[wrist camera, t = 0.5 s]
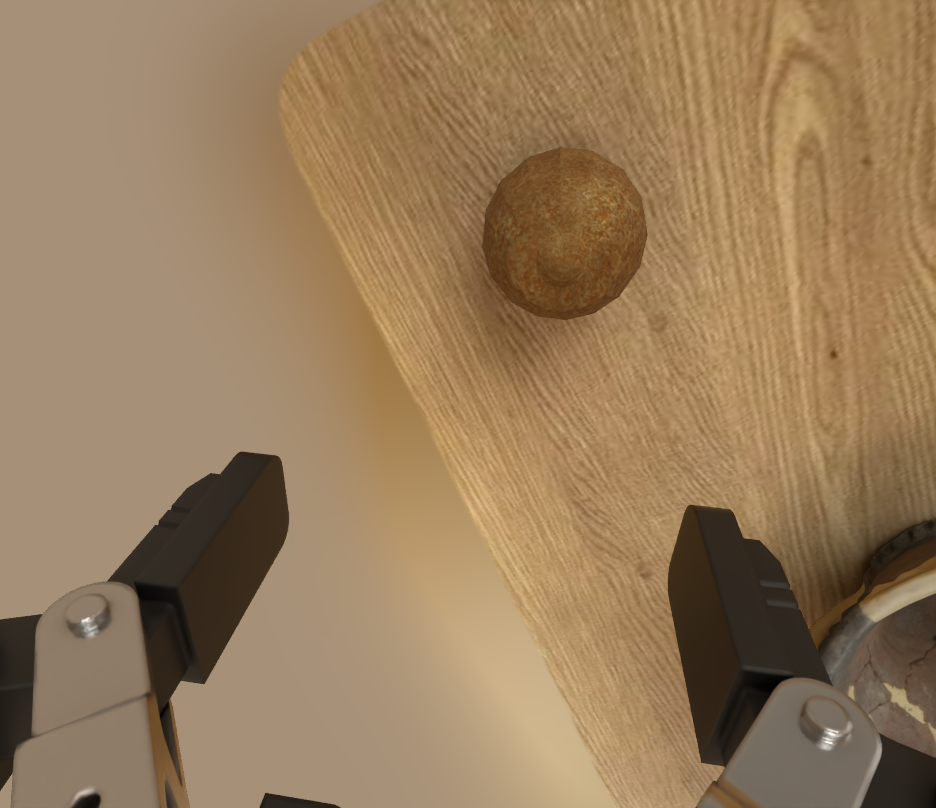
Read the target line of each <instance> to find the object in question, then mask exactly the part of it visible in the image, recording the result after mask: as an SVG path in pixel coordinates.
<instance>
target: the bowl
mask: <svg viewBox="0 0 936 808" xmlns="http://www.w3.org/2000/svg"><path fill="white" fill-rule="evenodd" d="M870 565H871V567H870V568H869V569H868V570H867V571H866V573H865V574H864V576H863V585H862V587H861V588H860V589H859V590H858V591H857V592H856V593H855V594H853V595H852V596H850V597H848V598H847V599H845V600H844V601H842V602H840V603H839V604H838V605H837V606H835V607H834V608H833V609H832V610H830V611H829V612H828V613H827V614H825V615H824V616H823V617H822V618H820V619H819V620H818V621H817V622H815V623H814V624H813V626H812V627H811V628H810V630H809V631H810V634H811V636H812V638H813V641H814V643H815V645H816V648H817V650H818V652H819V655H820V657H821V659H822V662H823V664H824V666H825V669H826V671H827V673H828V676H829V678H830V680H831V683H832V685H833V687H835V688H837V689H839V690H840V691H842V692H843V693H845V694H846V695H848V696H849V697H851V698H852V699H853V700H854V701H855V702H856V703H858V704H859V705H860V706H861V707H862V708H863V709H864V711H865V712H866V713H867V714H868V715H869V717H870V718H871V719H872V721H873V723H874V724H875V726H876V728H877V730H878V732H879V733H881V734H882V735H884V736H886V737H888V738H890V739H892V740H894V741H896V742H898V743H901V744H903V745H906V746H908V747H911V748H913V749H915V750H918V751H920V752H923V753H925V754H927V755H930V756H932V757H935V758H936V519H932V520H929V521H927V522H924V523H921V524H918V525H915V526H913V527H911V528H909V529H907V530H906V531H905V532H903V533H902V534H900V535H899V536H898V537H896V538H895V539H893V540H892V541H891V542H889V543H888V544H886V545H885V546H884V547H882V548H881V550H880V551H879V552H878V554H877V555H876V556H875V557H874V558H873V559H872V561H871V563H870Z"/></svg>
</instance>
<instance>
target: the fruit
mask: <svg viewBox="0 0 936 808" xmlns="http://www.w3.org/2000/svg"><path fill="white" fill-rule="evenodd" d="M646 239H647V227H646V222H645V216H644V210H643V205H642V199H641V196H640V194H639V193H638V191H637V190H636V188H635V187H634V185H633V184H632V182H631V181H630V179H629V178H628V177H627V175H626V174H625V172H624V171H623V169H621V168H620V167H618V166H616V165H615V164H613V163H611V162H610V161H608V160H606V159H605V158H603V157H601V156H600V155H598V154H596V153H595V152H593V151H587V150H578V149H569V148H557V149H554V150H551V151H547V152H544V153H541V154H538V155H535V156H531V157H529V158H527V159H526V160H525V161H524V162H523V163H521V164H520V165H519V166H518V167H517V168H516V169H514V170H513V171H512V172H511V173H510V174H508V175H507V176H506V177H505V178H504V179H502V180H501V182H500V184H499V186H498V188H497V190H496V192H495V193H494V195H493V197H492V199H491V201H490V203H489V205H488V207H487V209H486V215H485V225H484V235H483V246H482V247H483V251H484V254H485V257H486V261H487V264H488V267H489V271H490V274H491V277H492V278H493V279H494V281H495V282H496V283H497V284H498V286H499V287H500V288H501V289H502V291H503V292H504V293H505V294H506V295H507V297H508V298H509V299H510V300H511V302H512V303H514V304H516V305H518V306H519V307H521V308H523V309H525V310H527V311H528V312H530V313H532V314H534V315H536V316H539V317H547V318H554V319H562V320H568V319H572V318H576V317H580V316H584V315H589V314H593V313H595V312H597V311H598V310H600V309H601V308H603V307H604V306H606V305H607V304H609V303H610V302H611V301H613V300H614V299H616V298H617V297H619V296H620V294H621V293H622V291H623V290H624V289H625V287H626V286H627V284H628V283H629V281H630V280H631V279H632V277H633V276H634V274H635V273H636V271H637V270H638V269H639V267H640V264H641V260H642V256H643V252H644V247H645V243H646Z"/></svg>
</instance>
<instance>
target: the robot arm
mask: <svg viewBox="0 0 936 808" xmlns="http://www.w3.org/2000/svg"><path fill="white" fill-rule="evenodd" d="M288 525H289V511H288V504H287V497H286V489H285V481H284V474H283V467H282V462H281V459H280V458H279V457H278V456H275V455H267V454H258V453H249V452H239V453H238V454H236V456H235V457H234V458H233V459H232V460H231V462H230V463H229V464H228V465H227V467H226V468H225V469H224V470H223V471H222V473H221V474H212V473H210V474H209V475H207V476H206V477H204V478H202V479H201V480H199V481H198V482H196V483H194V484H193V485H191V486H190V487H188V488H187V489H186V490H185V491H184V492H183V494H182V495H181V496H180V497H179V498H178V499H177V500H176V502H175V503H174V504H173V505H172V508H171V510H168V511H167V512H166V513H165V514H164V516H163V517H162V518H161V519H160V520H159V524H158V525H155V526H154V527H153V528H152V530H151V531H150V532H149V533H148V534H147V535H146V537H145V538H144V539H143V540H142V541H141V542H140V544H139V545H138V546H137V547H136V548H135V549H134V550H133V552H132V553H131V554H130V555H129V556H128V557H127V559H126V560H125V561H124V562H123V563H122V564H121V566H120V567H119V568H118V569H117V570H116V571H115V573H114V574H113V575H112V576H111V577H110V579H109V580H108V581H107V582H98V583H93V584H89V585H86V586H83V587H80V588H78V589H75V590H73V591H71V592H69V593H68V594H66V595H64V596H63V597H61V598H60V599H58V600H57V601H55V602H54V603H53V604H52V605H51V606H50V607H49V608H48V609H47V610H46V611H45V612H44V613H43V614H40V615H32V616H25V617H16V618H9V619H2V620H0V790H1V789H2V788H3V786H4V785H5V783H6V782H7V780H8V779H9V777H10V776H11V775H12V773H13V779H12V794H11V808H190V805H189V800H188V795H187V790H186V784H185V777H184V771H183V765H182V760H181V754H180V747H179V741H178V736H177V730H176V724H175V718H174V712H173V706H172V702H171V700H170V698H171V696H172V694H173V693H174V691H175V689H176V687H177V686H178V684H179V683H180V681H187V682H193V683H200V684H205V682H206V680H207V679H208V677H209V675H210V673H211V671H212V670H213V668H214V666H215V664H216V663H217V661H218V659H219V657H220V656H221V654H222V652H223V650H224V649H225V647H226V645H227V643H228V641H229V640H230V638H231V636H232V634H233V633H234V631H235V629H236V627H237V626H238V624H239V622H240V620H241V619H242V617H243V615H244V613H245V611H246V610H247V608H248V606H249V604H250V602H251V601H252V599H253V597H254V596H255V594H256V592H257V590H258V588H259V587H260V585H261V583H262V581H263V580H264V578H265V576H266V574H267V572H268V571H269V569H270V567H271V565H272V564H273V562H274V560H275V558H276V557H277V555H278V553H279V551H280V549H281V548H282V546H283V544H284V541H285V539H286V535H287V531H288ZM789 587H790V585H789V582H788V580H787V578H786V575H785V573H784V571H783V568H782V566H781V564H780V562H779V561H778V560H777V559H776V558H775V556H774V555H773V554H772V553H771V552H770V551H769V550H768V549H767V548H766V547H765V546H764V545H763V544H762V543H761V542H760V541H759V540H752V539H744V538H743V536H742V534H741V531H740V528H739V526H738V523H737V520H736V518H735V515H734V513H733V512H732V511H731V510H730V509H722V508H713V507H705V506H696V505H689V506H688V507H687V508H686V510H685V513H684V516H683V520H682V523H681V527H680V530H679V534H678V537H677V541H676V544H675V548H674V551H673V555H672V558H671V562H670V566H669V573H668V595H669V601H670V606H671V611H672V616H673V621H674V626H675V631H676V636H677V641H678V646H679V652H680V657H681V662H682V667H683V672H684V677H685V682H686V687H687V692H688V697H689V702H690V707H691V712H692V717H693V723H694V728H695V733H696V738H697V743H698V748H699V753H700V758H701V763H707V764H713V765H720V766H724V767H725V769H724V771H723V772H722V774H721V775H720V777H719V778H718V780H717V781H713V782H712V783H711V785H710V786H709V787H708V789H707V790H706V792H705V793H704V795H703V796H702V798H701V800H700V801H699V803H698V804H697V806H696V807H695V808H936V758H935V757H932V756H930V755H927V754H925V753H923V752H920V751H918V750H915V749H913V748H911V747H908V746H906V745H903V744H901V743H898V742H896V741H894V740H892V739H890V738H888V737H886V736H884V735H882V734H881V733H879V732H878V730H877V728H876V726H875V724H874V723H873V721H872V719H871V718H870V717H869V715H868V714H867V713H866V712H865V711H864V709H863V708H862V707H861V706H860V705H859V704H858V703H856V702H855V701H854V700H853V699H852V698H851V697H849V696H848V695H846V694H845V693H843V692H842V691H840V690H839V689H837V688H835V687H833V685H832V683H831V680H830V678H829V676H828V673H827V671H826V669H825V666H824V664H823V662H822V659H821V657H820V655H819V652H818V650H817V648H816V645H815V643H814V641H813V638H812V636H811V634H810V631H809V629H808V627H807V624H806V622H805V620H804V617H803V615H802V613H801V610H798V603H797V601H796V599H795V596H794V594H793V592H792V590H790V589H789ZM260 808H340V807H338V806H336V805H334V804H328V803H321V802H316V801H310V800H304V799H298V798H293V797H286V796H281V795H275V794H268V793H265V796H264V798H263V800H262V803H261V805H260Z"/></svg>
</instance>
